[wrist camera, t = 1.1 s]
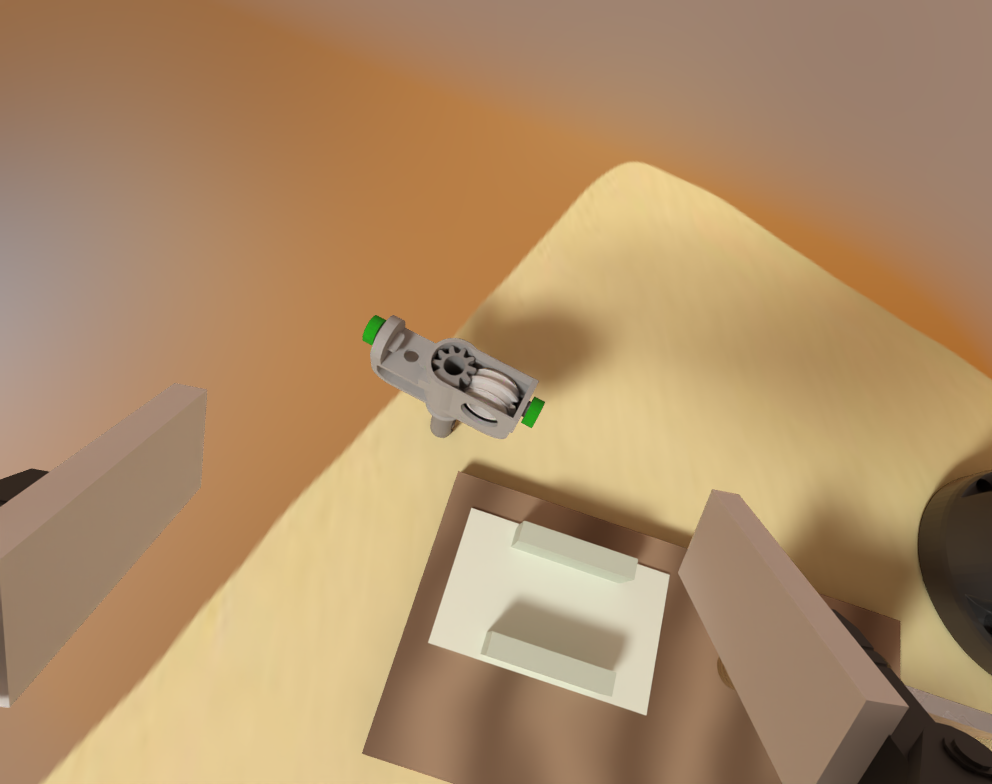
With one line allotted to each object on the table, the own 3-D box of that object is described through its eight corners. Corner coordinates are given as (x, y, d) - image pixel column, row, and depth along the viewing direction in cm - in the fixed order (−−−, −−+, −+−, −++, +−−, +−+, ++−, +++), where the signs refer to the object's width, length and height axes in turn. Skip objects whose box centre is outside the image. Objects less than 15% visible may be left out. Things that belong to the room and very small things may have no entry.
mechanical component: (387, 374, 41) (383, 298, 32) (518, 443, 40) (553, 385, 31) (364, 409, 39) (354, 340, 30) (499, 480, 39) (530, 431, 30)
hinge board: (882, 621, 39) (1081, 613, 28) (878, 918, 32) (1137, 1067, 21) (456, 477, 39) (480, 408, 27) (363, 748, 32) (343, 808, 21)
